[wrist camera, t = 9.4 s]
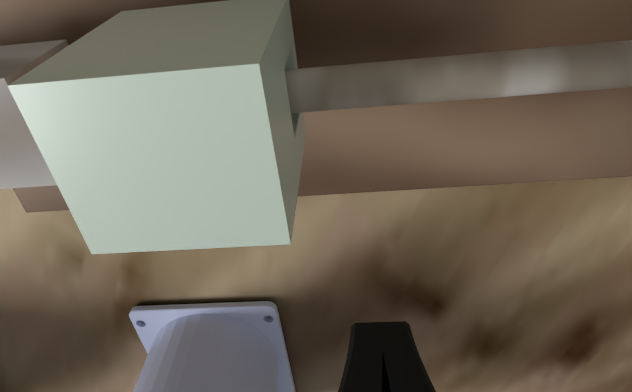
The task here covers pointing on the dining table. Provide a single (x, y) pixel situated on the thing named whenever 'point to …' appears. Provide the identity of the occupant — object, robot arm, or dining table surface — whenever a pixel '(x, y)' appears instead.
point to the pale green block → (173, 127)
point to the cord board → (397, 90)
